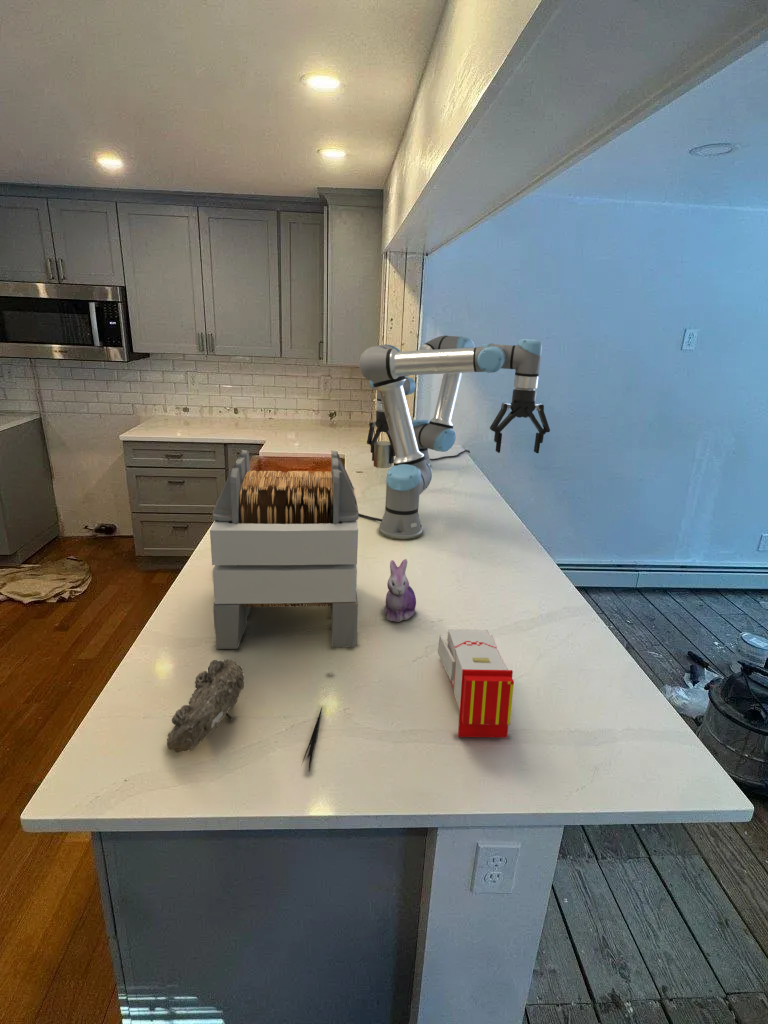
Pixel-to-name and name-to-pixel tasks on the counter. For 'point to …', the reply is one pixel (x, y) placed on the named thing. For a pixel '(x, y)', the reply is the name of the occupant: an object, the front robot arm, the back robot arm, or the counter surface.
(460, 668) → the toy
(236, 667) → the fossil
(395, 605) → the figurine
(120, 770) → the counter surface
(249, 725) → the counter surface
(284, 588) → the record crate
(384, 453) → the canister
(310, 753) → the feather
